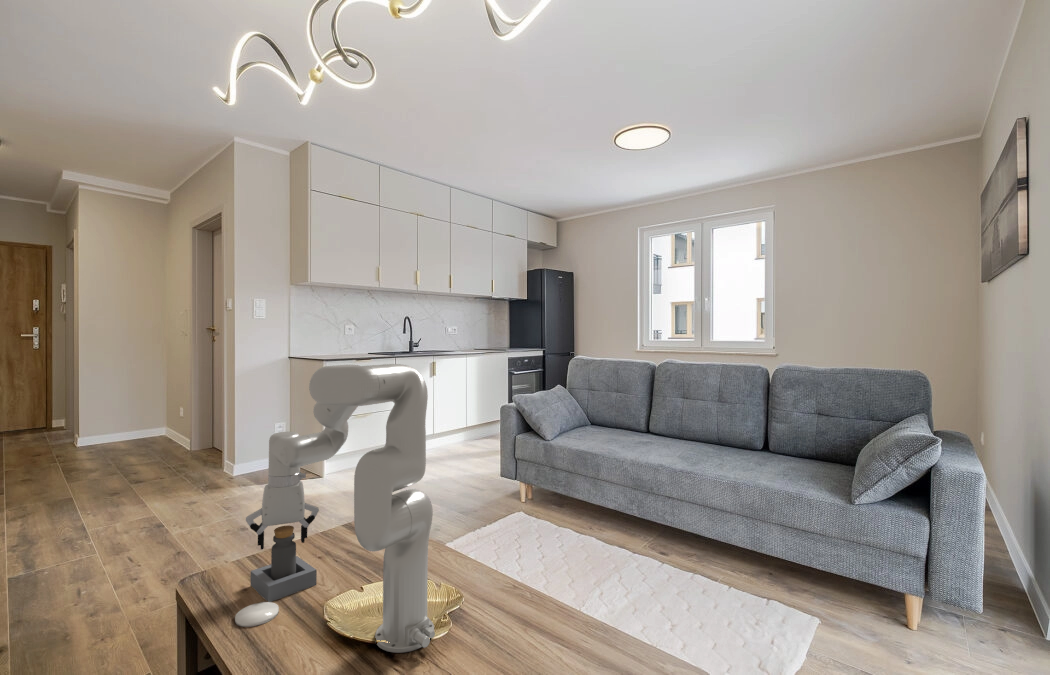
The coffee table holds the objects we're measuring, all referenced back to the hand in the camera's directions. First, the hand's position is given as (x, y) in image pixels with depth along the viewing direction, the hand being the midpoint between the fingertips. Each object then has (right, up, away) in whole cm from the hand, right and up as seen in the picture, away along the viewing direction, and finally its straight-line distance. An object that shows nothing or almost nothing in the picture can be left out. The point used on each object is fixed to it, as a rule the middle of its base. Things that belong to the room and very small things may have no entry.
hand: (282, 544), depth 130 cm
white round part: (+1, -11, -14) cm, 18 cm away
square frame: (0, -11, 0) cm, 11 cm away
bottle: (0, -11, 0) cm, 11 cm away
